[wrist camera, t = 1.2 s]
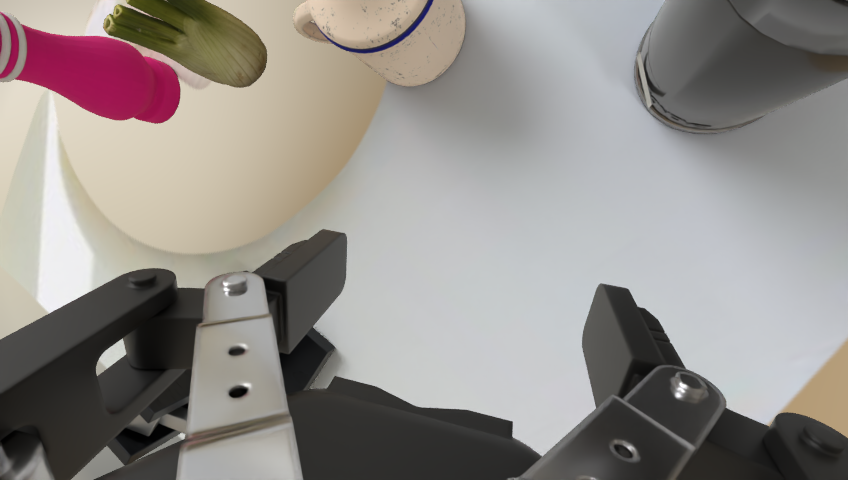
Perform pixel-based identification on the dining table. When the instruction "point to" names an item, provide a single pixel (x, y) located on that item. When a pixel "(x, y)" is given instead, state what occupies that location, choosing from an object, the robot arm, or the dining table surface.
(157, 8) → the fennel bulb
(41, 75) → the pepper mill
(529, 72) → the dining table surface
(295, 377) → the bracket
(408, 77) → the teacup with lid
